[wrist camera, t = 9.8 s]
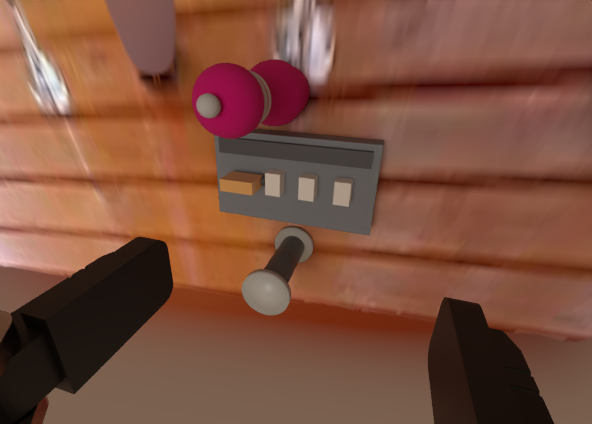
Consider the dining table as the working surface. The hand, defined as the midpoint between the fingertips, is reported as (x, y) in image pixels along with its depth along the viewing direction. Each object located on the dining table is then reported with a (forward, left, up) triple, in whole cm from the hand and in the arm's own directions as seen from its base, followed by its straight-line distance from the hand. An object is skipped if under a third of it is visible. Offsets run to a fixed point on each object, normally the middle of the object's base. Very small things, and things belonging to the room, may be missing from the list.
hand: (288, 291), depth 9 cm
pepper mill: (+11, -3, -34) cm, 36 cm away
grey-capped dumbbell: (+9, +19, -34) cm, 40 cm away
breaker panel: (+9, +8, -34) cm, 36 cm away
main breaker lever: (+15, +8, -31) cm, 35 cm away
